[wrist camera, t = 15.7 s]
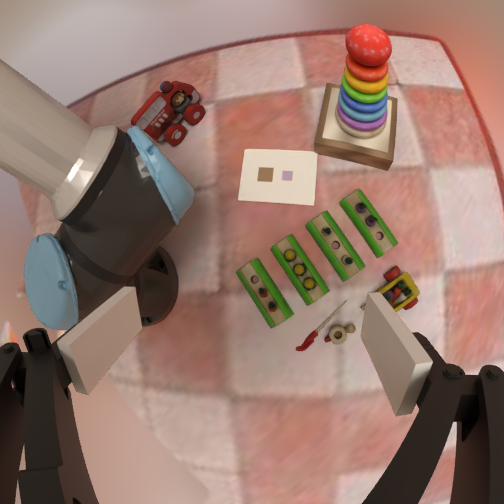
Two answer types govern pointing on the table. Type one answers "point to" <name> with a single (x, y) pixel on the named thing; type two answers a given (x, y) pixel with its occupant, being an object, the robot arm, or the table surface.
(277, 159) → the page
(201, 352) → the table surface
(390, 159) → the pedestal
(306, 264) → the toy garden set
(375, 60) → the stacking toy
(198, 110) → the toy fire truck
